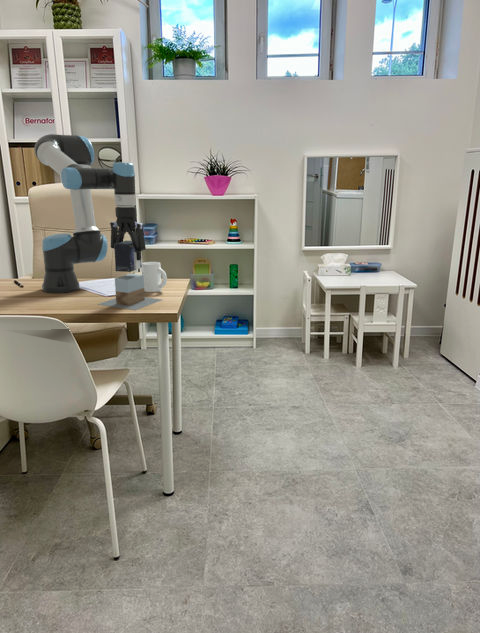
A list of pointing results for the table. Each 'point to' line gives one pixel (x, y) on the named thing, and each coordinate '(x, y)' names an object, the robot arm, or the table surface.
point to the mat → (132, 307)
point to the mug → (153, 276)
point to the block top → (129, 283)
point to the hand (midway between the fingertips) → (129, 267)
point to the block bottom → (130, 297)
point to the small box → (124, 256)
